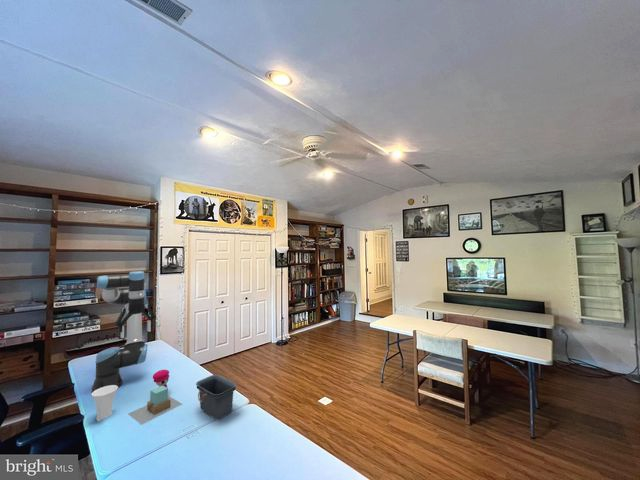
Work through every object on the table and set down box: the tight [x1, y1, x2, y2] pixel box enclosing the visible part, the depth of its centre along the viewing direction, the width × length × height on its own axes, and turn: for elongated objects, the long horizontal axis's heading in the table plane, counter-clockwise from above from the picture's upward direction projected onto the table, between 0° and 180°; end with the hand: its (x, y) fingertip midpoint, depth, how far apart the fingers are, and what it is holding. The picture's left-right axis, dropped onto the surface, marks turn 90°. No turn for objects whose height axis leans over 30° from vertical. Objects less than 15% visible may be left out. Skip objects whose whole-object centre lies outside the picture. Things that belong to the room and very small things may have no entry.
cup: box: [91, 385, 118, 422], centre depth 133 cm, size 10×10×14 cm
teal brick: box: [149, 385, 169, 405], centre depth 138 cm, size 6×6×6 cm
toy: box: [152, 369, 170, 388], centre depth 151 cm, size 8×8×15 cm
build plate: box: [127, 395, 183, 426], centre depth 137 cm, size 16×20×1 cm
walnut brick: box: [146, 398, 171, 415], centre depth 138 cm, size 8×8×4 cm
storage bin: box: [195, 374, 237, 421], centre depth 135 cm, size 21×16×14 cm
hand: (136, 334), depth 151 cm, fingers open, 13 cm apart
